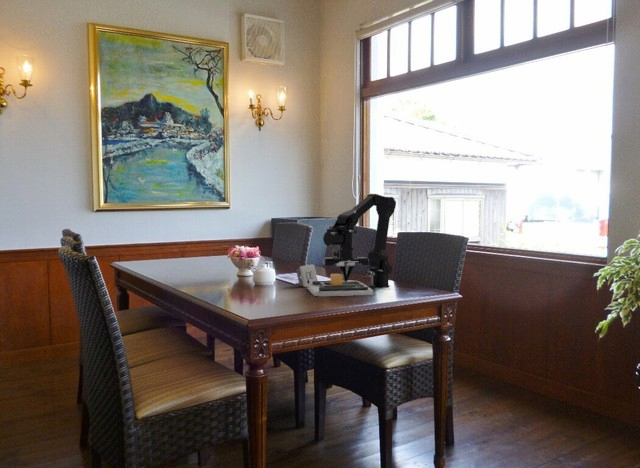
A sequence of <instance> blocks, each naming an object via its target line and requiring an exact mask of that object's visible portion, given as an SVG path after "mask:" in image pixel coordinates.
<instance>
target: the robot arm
mask: <svg viewBox="0 0 640 468" xmlns="http://www.w3.org/2000/svg"><path fill="white" fill-rule="evenodd" d="M396 204H397V201H396V199H395V198H394V197H393V196H385V195H380V194H378V193H369V194H367V196H366V197H365V198H364V199H363V200H361V201H360V202H358V204H356V205H355V206H354V207H353V208H351V209H349V210H346V211H344V212H342V213H340V214H339V215H338V216H337V217H336V221H335V223H334V224H333V226H332V227H331V228H327V229H326V232H325V233H324V234H323V243H324V245H326V246H327V247H328V246H331V247H332V246H338V249H337V248H333V249H332V251H331V252H332V253H331V255H332V256H330V257H322V265H324V266H326V267H327V266H334V265H335V264H336V265H335V266H336V267H337V268H339V270H340V271H341V275H343V281H344V282H347V280H349V278H350V274H351V273H352V271H353V269H354V268H356V264H361V265H362V266H368V267H369V272H370V273H371V272H372V275H371V286H373V287H375V288H388V287H389V288H390V285H389V274H391V273H392V271H393V267H392V266H391V265H390V263H389V255H388V253H387V251H386V247H387V241H388V235H389V234H388V233H389V232H388V231H389V227H390V219H391V217H392V216H393V214H394V213H395V209H396V206H397V205H396ZM374 206H375V210H376V213H377V216H378V219H377V225H376V231H375V232H376V233H375V238H374V247H373V249H372V251H368V254H367V255H368V256H367V257H366V256H357V257H356V258H354V254H353V253H354V234H357V233H358V231H357V230H356V229H355V228H354V227H356V225H357V224H358V223H359V221H360V218H361V217H362V216H363V215H364V214H366V213H367V212H368V211H369V210H370V209H371V208H372V207H374Z"/></svg>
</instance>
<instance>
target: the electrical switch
mask: <svg viewBox="0 0 640 468" xmlns="http://www.w3.org/2000/svg"><path fill="white" fill-rule="evenodd" d="M295 270H296V276H297V281H298V284H299V285H298V286H299V287H304V288H308V284H312V281H319V280H318V276H317V273H316V267H315V264H307V265H306V264H305V265H301V266H299V268H297V269H295Z"/></svg>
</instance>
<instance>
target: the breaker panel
mask: <svg viewBox="0 0 640 468" xmlns="http://www.w3.org/2000/svg"><path fill="white" fill-rule="evenodd" d="M307 290H308V291H309V293H311V294H312V296H314V297H315V296H318V297H345V296H346V297H348V296H349V297H350V296H354V295H355V296H374V289H372V288H371V287H369V286H368V285H366V284H364V283H363V282H361V281H359V279H357V280H356V279H355V280H352V279H348V280H347V282H344V280H342V285H330V280H318V281H312V284H308V287H307Z"/></svg>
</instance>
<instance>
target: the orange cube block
mask: <svg viewBox="0 0 640 468" xmlns="http://www.w3.org/2000/svg"><path fill="white" fill-rule="evenodd" d="M329 281H330V285H342V281H344V279H343V275H342V273H330V280H329Z"/></svg>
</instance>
